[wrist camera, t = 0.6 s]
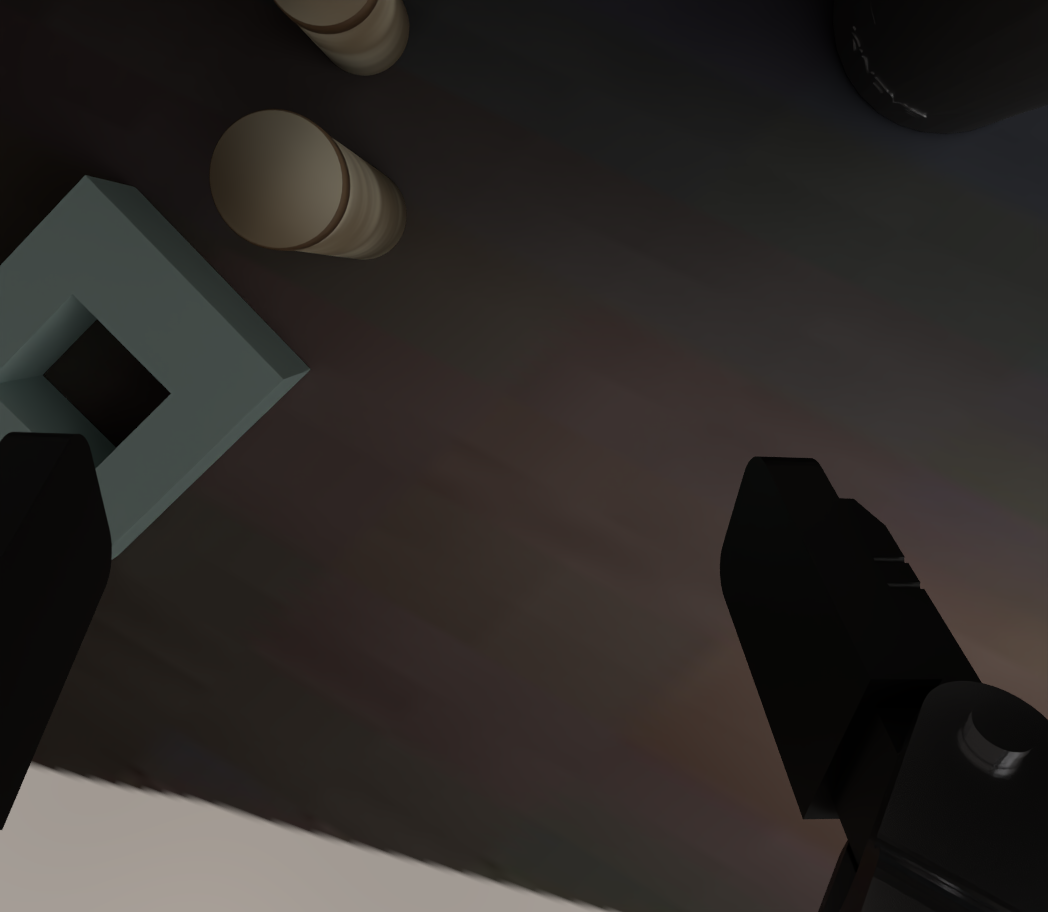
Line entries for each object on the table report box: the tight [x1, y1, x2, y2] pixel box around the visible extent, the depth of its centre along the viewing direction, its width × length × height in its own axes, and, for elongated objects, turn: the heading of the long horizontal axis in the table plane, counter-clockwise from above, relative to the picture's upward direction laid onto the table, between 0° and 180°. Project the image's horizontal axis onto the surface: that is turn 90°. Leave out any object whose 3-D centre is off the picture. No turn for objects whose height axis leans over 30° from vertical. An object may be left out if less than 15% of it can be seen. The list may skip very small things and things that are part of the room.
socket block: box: [0, 175, 311, 560], centre depth 36 cm, size 12×10×4 cm
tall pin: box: [209, 109, 407, 260], centre depth 30 cm, size 4×4×12 cm
